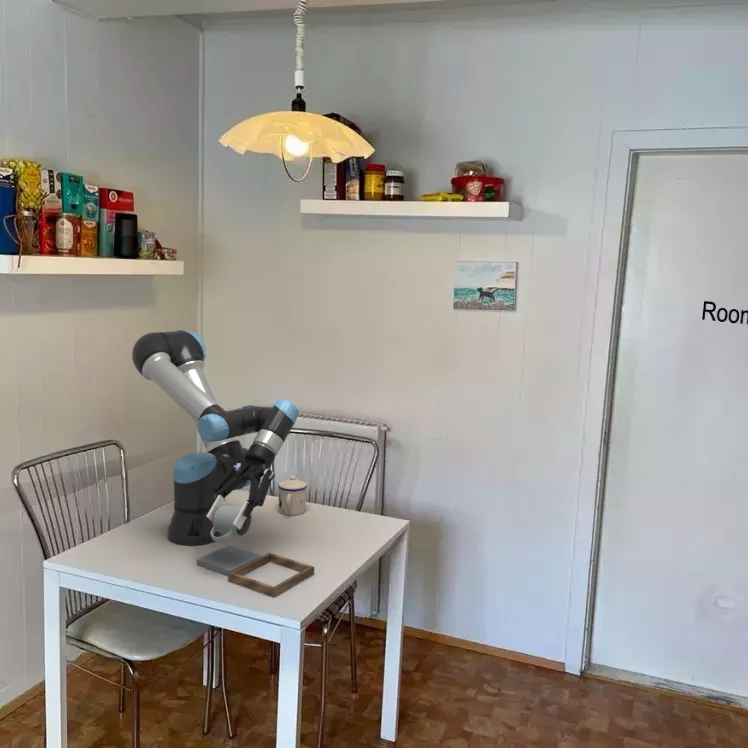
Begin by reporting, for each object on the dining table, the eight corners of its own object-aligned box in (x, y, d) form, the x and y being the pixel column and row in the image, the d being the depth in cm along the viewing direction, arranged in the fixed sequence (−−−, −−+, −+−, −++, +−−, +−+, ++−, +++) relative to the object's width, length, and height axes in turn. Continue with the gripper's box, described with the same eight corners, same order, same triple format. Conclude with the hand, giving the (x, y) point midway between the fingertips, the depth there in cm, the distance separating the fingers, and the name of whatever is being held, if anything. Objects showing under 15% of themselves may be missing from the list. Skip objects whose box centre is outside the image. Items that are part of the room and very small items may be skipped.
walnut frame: (228, 580, 183) (228, 573, 182) (269, 559, 196) (269, 552, 196) (274, 597, 175) (274, 589, 175) (314, 574, 188) (314, 566, 188)
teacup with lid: (280, 505, 239) (281, 471, 237) (308, 507, 238) (309, 472, 236) (273, 518, 227) (273, 482, 225) (302, 520, 226) (302, 484, 224)
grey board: (196, 564, 191) (196, 559, 191) (228, 550, 201) (228, 545, 201) (230, 576, 185) (230, 571, 185) (261, 561, 195) (261, 555, 195)
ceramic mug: (226, 526, 196) (226, 499, 195) (252, 531, 193) (252, 503, 192) (202, 540, 187) (202, 511, 185) (229, 545, 184) (228, 516, 182)
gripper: (300, 464, 196) (261, 538, 185) (241, 451, 207) (200, 520, 196) (288, 448, 191) (247, 524, 180) (228, 436, 202) (185, 507, 191)
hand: (223, 522), depth 188 cm, fingers closed on ceramic mug, 8 cm apart
